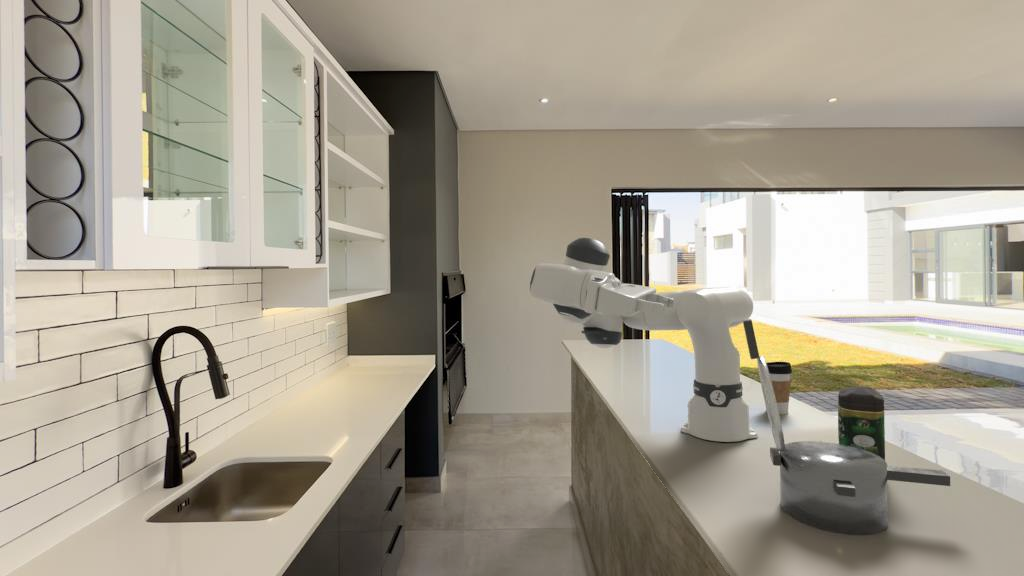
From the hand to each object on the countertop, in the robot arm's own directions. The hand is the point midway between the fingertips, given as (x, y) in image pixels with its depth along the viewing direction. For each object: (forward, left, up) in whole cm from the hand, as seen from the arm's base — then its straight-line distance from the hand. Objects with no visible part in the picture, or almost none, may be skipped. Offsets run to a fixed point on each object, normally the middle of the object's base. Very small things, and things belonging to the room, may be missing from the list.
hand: (668, 306), depth 100 cm
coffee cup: (-68, +26, -37) cm, 82 cm away
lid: (+1, +18, -14) cm, 23 cm away
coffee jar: (-18, +36, -37) cm, 55 cm away
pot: (+1, +31, -37) cm, 48 cm away
